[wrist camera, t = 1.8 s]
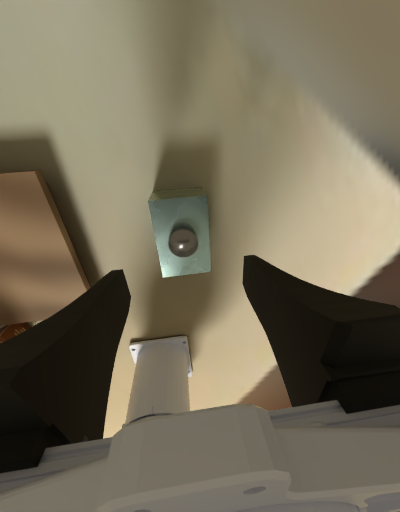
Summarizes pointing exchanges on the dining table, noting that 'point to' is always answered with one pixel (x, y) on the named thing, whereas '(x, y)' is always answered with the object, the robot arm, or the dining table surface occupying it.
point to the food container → (12, 330)
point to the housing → (181, 230)
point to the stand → (34, 252)
